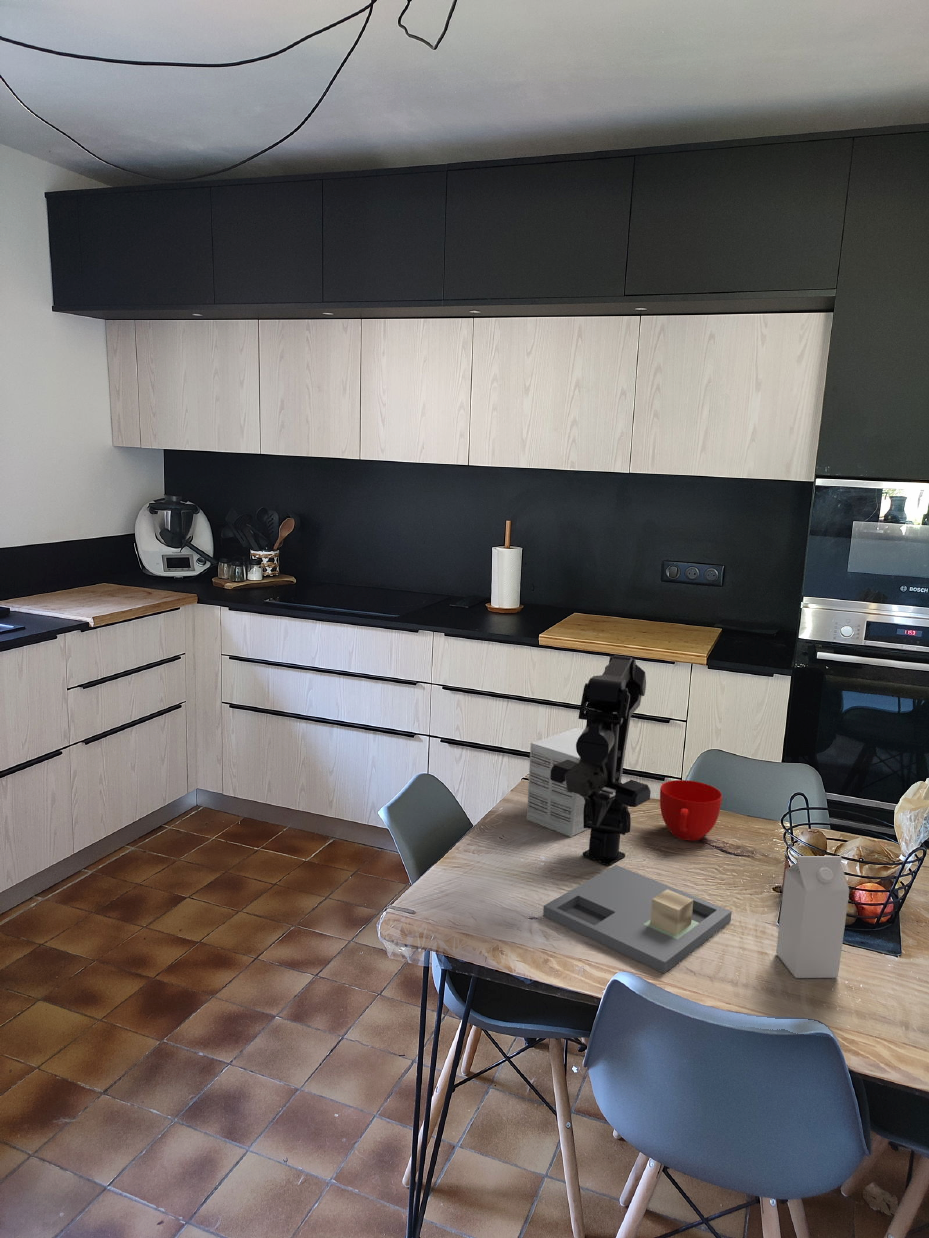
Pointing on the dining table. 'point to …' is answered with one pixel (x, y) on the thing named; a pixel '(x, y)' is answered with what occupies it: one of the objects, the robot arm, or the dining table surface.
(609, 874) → the board
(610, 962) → the dining table surface
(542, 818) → the supplement box
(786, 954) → the milk carton
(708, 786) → the ceramic cup
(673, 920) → the maple block
